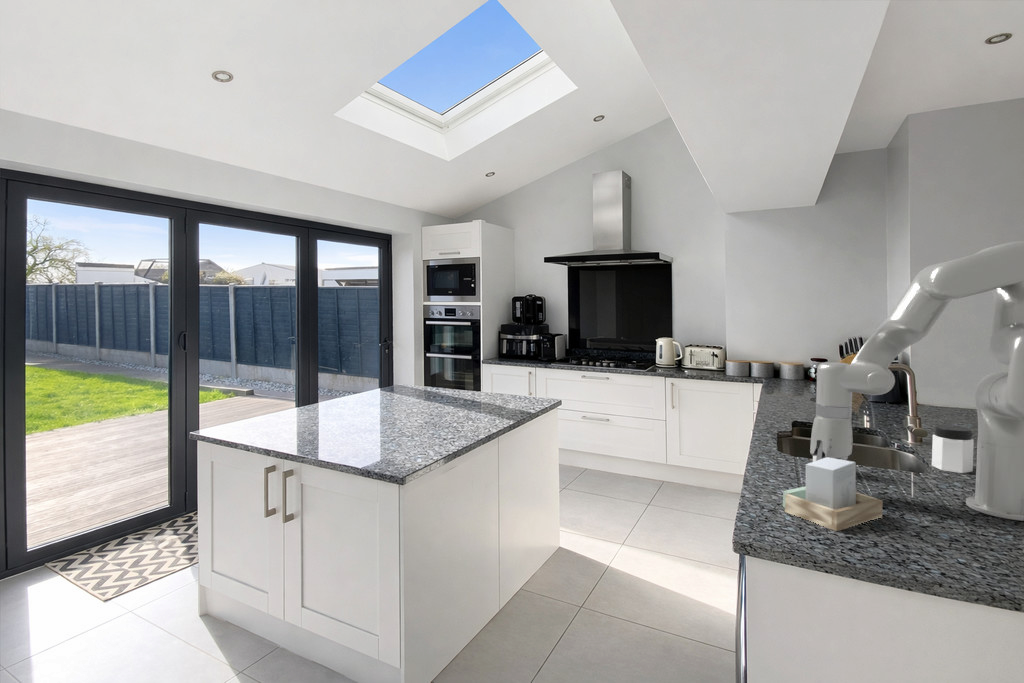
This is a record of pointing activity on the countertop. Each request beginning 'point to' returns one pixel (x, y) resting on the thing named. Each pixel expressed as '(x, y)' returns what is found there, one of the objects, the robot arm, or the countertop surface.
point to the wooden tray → (835, 511)
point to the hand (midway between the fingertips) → (831, 484)
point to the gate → (795, 493)
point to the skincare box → (831, 483)
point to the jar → (952, 449)
